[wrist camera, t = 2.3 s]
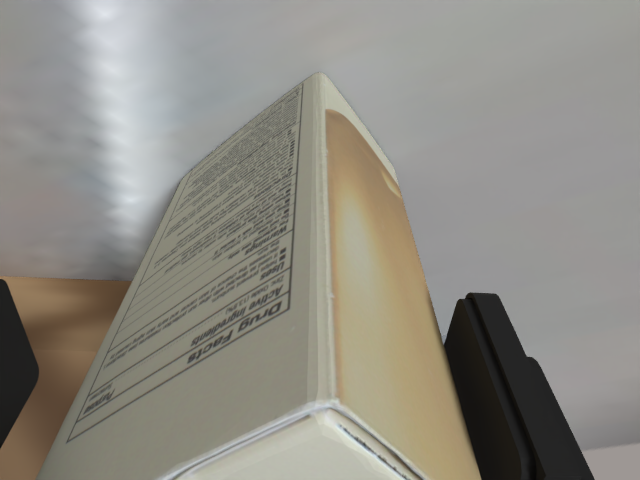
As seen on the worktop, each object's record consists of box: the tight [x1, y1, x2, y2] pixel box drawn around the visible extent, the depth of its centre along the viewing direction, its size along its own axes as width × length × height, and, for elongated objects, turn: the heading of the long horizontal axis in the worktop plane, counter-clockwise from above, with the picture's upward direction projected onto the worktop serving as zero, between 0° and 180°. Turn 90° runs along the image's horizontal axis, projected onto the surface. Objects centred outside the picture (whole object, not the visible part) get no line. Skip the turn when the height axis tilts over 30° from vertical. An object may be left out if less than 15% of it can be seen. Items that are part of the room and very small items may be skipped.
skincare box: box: [35, 72, 481, 480], centre depth 12 cm, size 6×4×12 cm
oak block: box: [0, 276, 132, 480], centre depth 21 cm, size 9×9×4 cm
